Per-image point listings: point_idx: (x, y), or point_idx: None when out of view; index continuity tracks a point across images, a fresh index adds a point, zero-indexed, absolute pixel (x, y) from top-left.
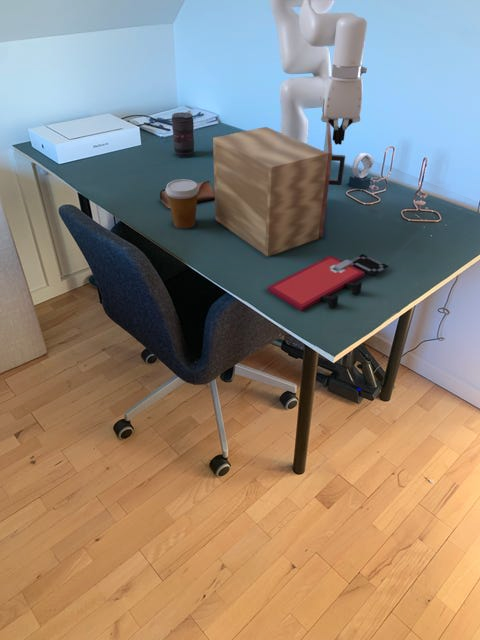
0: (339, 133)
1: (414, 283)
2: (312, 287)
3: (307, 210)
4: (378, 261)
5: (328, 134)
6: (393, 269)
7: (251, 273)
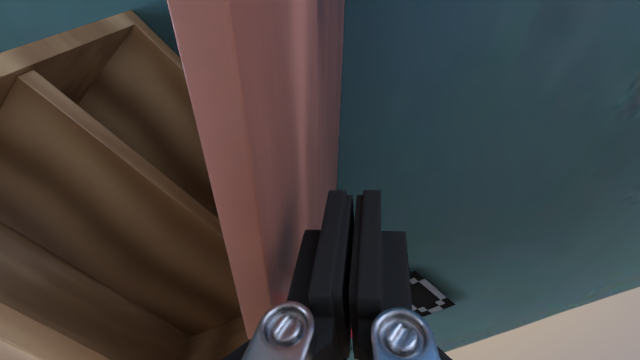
0: (350, 336)
1: (486, 322)
2: None
3: None
4: (440, 292)
5: (252, 324)
6: (466, 293)
7: None
